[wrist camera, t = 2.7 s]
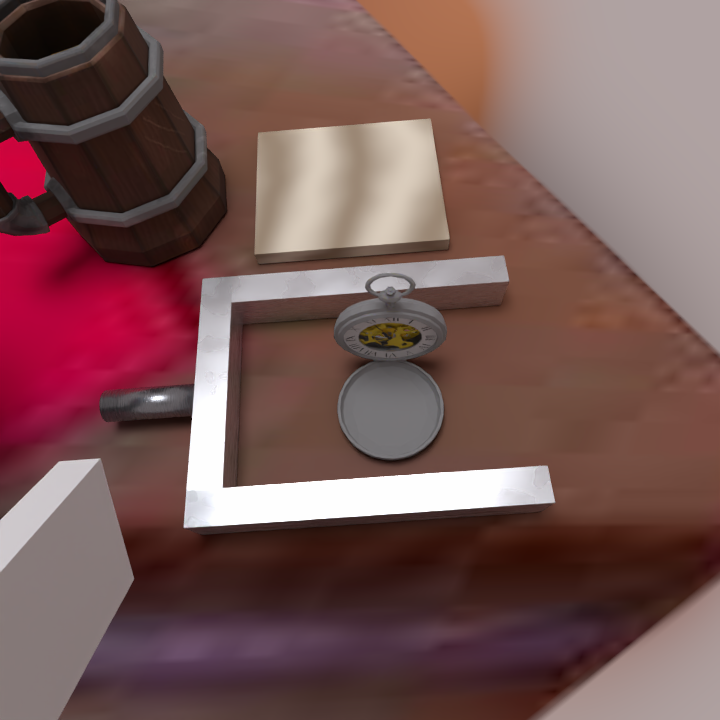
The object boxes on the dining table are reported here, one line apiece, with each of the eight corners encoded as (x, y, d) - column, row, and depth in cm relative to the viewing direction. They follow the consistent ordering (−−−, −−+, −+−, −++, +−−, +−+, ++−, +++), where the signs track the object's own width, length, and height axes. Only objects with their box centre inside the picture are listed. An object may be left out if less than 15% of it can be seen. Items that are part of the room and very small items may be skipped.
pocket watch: (375, 483, 33) (370, 435, 24) (306, 377, 36) (278, 298, 27) (483, 412, 34) (517, 342, 25) (407, 316, 37) (413, 223, 28)
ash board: (258, 263, 40) (254, 254, 39) (261, 144, 45) (258, 132, 44) (447, 249, 40) (449, 239, 39) (429, 130, 45) (430, 118, 44)
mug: (168, 129, 46) (76, -71, 33) (258, 205, 42) (196, 13, 29) (6, 237, 42) (-176, 60, 29) (89, 332, 38) (-77, 179, 25)
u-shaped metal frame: (101, 541, 32) (74, 535, 29) (132, 308, 39) (113, 285, 36) (540, 511, 32) (555, 502, 29) (495, 280, 38) (503, 255, 36)
